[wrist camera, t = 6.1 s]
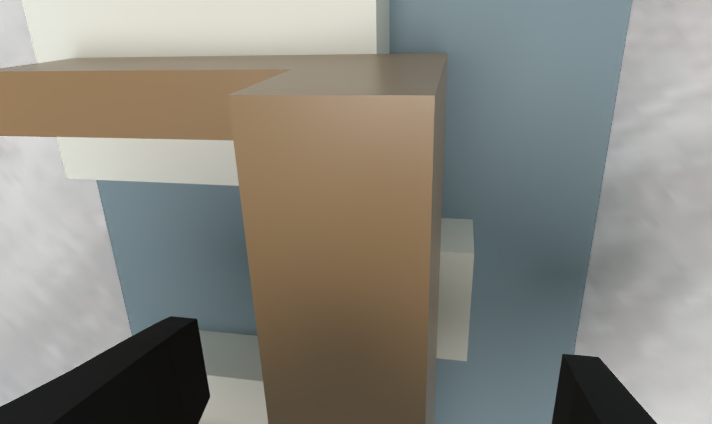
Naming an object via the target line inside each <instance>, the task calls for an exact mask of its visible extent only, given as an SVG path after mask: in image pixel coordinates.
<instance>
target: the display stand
mask: <svg viewBox="0 0 712 424" xmlns="http://www.w3.org/2000/svg"><path fill="white" fill-rule="evenodd" d="M21 1H22V5H23V9H24V13H25V17H26V21H27V25H28V29H29V33H30V36H31V40H32V44H33V48H34V52H35V56H36V60H37V63H43V62H50V61H57V60H64V59H71V58H107V57H183V56H258V55H334V54H409V53H448V56H447V83H446V110H445V137H444V165H443V192H442V219H441V246H440V273H439V300H438V327H437V355H436V382H435V409H434V424H552V418H553V412H554V405H555V399H556V392H557V386H558V380H559V373H560V367H561V360H562V354H570V355H573V354H574V348H575V342H576V336H577V330H578V324H579V318H580V312H581V306H582V300H583V294H584V288H585V282H586V276H587V270H588V264H589V258H590V252H591V246H592V240H593V234H594V228H595V222H596V216H597V210H598V204H599V198H600V192H601V186H602V180H603V174H604V168H605V162H606V156H607V150H608V144H609V138H610V132H611V126H612V120H613V114H614V107H615V101H616V95H617V89H618V83H619V77H620V71H621V65H622V59H623V53H624V47H625V41H626V35H627V29H628V23H629V17H630V11H631V5H632V0H21ZM56 139H57V143H58V147H59V151H60V155H61V159H62V163H63V167H64V171H65V175H66V179H89V180H97V185H98V189H99V193H100V198H101V202H102V206H103V211H104V215H105V219H106V224H107V228H108V233H109V237H110V241H111V246H112V250H113V254H114V259H115V263H116V267H117V272H118V276H119V280H120V285H121V289H122V293H123V298H124V302H125V306H126V311H127V315H128V319H129V324H130V328H131V333H132V336H133V335H135V334H137V333H139V332H140V331H142V330H144V329H146V328H148V327H150V326H152V325H153V324H155V323H157V322H159V321H161V320H164V319H166V318H168V317H170V316H174V317H184V318H194V319H197V321H198V327H199V333H200V339H201V345H202V351H203V356H204V362H205V368H206V374H207V380H208V386H209V392H210V399H209V401H208V403H207V405H206V408H205V410H204V412H203V415H202V417H201V419H200V422H199V424H268V418H267V409H266V401H265V393H264V385H263V377H262V369H261V361H260V353H259V344H258V336H257V328H256V320H255V312H254V304H253V296H252V288H251V279H250V271H249V263H248V255H247V247H246V239H245V231H244V223H243V214H242V206H241V198H240V190H239V182H238V174H237V166H236V158H235V149H234V141H233V140H186V139H137V138H87V137H56Z"/></svg>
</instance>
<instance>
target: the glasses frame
mask: <svg viewBox="0 0 712 424" xmlns="http://www.w3.org/2000/svg"><path fill="white" fill-rule="evenodd" d="M447 56H448V53H409V54H334V55H258V56H183V57H107V58H71V59H64V60H57V61H50V62H43V63H36V64H29V65H22V66H16V67H9V68H2V69H0V136H38V137H87V138H137V139H186V140H233V141H234V149H235V158H236V166H237V174H238V182H239V190H240V198H241V206H242V214H243V223H244V231H245V239H246V247H247V255H248V263H249V271H250V279H251V288H252V296H253V304H254V312H255V320H256V328H257V336H258V344H259V353H260V361H261V369H262V377H263V385H264V393H265V401H266V409H267V418H268V424H434V409H435V382H436V355H437V327H438V300H439V273H440V246H441V219H442V192H443V165H444V137H445V110H446V83H447Z"/></svg>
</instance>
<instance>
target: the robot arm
mask: <svg viewBox="0 0 712 424" xmlns="http://www.w3.org/2000/svg"><path fill="white" fill-rule="evenodd" d="M209 399H210V392H209V386H208V380H207V374H206V368H205V362H204V356H203V351H202V345H201V339H200V333H199V327H198V321H197V319H194V318H184V317H174V316H170V317H168V318H166V319H164V320H161V321H159V322H157V323H155V324H153V325H152V326H150V327H148V328H146V329H144V330H142V331H140V332H139V333H137V334H135V335H133V336H131V337H130V338H128V339H126V340H124V341H122V342H121V343H119V344H117V345H115V346H114V347H112V348H110V349H108V350H107V351H105V352H103V353H101V354H99V355H98V356H96V357H94V358H92V359H90V360H89V361H87V362H85V363H83V364H82V365H80V366H78V367H76V368H74V369H73V370H71V371H69V372H67V373H65V374H63V375H61V376H59V377H57V378H56V379H54V380H52V381H50V382H48V383H46V384H44V385H42V386H40V387H38V388H36V389H34V390H32V391H31V392H29V393H27V394H25V395H23V396H21V397H19V398H17V399H15V400H13V401H11V402H9V403H7V404H5V405H3V406H1V407H0V424H199V422H200V419H201V417H202V415H203V412H204V410H205V408H206V405H207V403H208V401H209ZM552 424H657V423H656V422H655V421H654V420H653V419H652V417H651V416H650V415H649V414H648V413H647V412H646V411H645V410H644V408H643V407H642V406H641V405H640V404H639V403H638V402H637V401H636V399H635V398H634V397H633V396H632V395H631V394H630V393H629V391H628V390H627V389H626V388H625V387H624V386H623V384H622V383H621V382H620V381H619V380H618V379H617V378H616V376H615V375H614V374H613V373H612V372H611V371H610V370H609V368H608V367H607V366H606V365H605V364H604V363H603V362H602V361H601V359H600V358H599V357H591V356H581V355H570V354H562V360H561V367H560V373H559V380H558V386H557V392H556V399H555V405H554V412H553V418H552Z"/></svg>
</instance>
